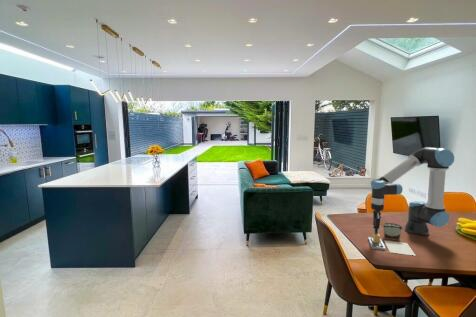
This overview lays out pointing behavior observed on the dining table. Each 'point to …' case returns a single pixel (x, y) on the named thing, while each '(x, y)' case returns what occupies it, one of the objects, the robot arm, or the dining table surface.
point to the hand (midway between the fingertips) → (375, 236)
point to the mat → (399, 248)
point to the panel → (376, 244)
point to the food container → (392, 231)
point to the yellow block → (376, 238)
